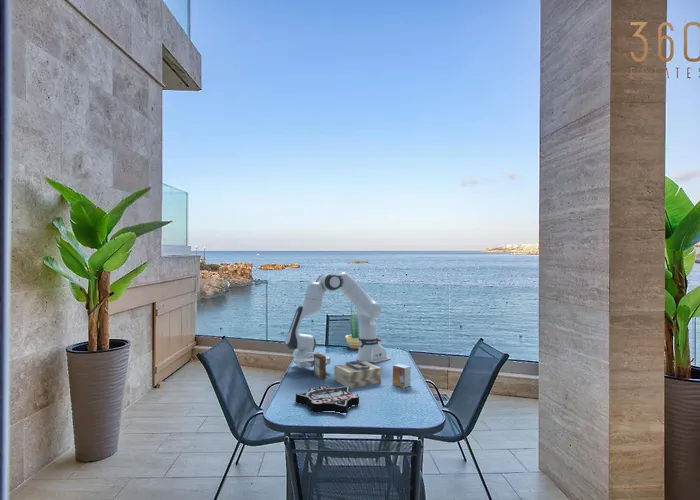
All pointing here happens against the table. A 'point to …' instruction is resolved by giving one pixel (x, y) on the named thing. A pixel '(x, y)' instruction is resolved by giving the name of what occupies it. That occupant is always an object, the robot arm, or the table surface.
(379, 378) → the beige rectangular block
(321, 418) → the table surface
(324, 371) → the tall brown block
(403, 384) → the small box
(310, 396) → the wall plaque
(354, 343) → the potted cactus
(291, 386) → the table surface
